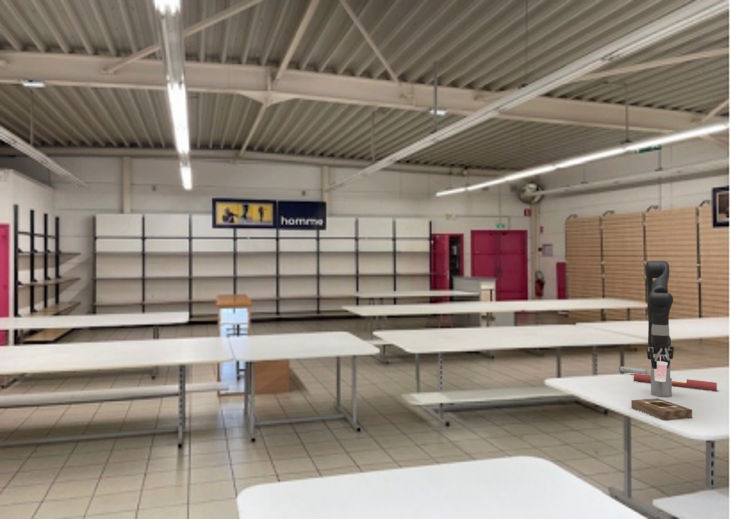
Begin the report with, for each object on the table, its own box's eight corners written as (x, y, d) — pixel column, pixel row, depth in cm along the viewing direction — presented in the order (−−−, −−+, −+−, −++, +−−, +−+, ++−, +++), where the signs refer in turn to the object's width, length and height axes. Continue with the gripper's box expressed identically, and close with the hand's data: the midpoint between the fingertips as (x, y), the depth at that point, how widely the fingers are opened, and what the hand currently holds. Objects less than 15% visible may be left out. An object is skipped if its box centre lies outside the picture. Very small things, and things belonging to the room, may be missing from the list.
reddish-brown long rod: (716, 390, 292) (716, 381, 292) (716, 392, 288) (716, 383, 288) (634, 380, 315) (634, 372, 315) (633, 382, 311) (633, 374, 311)
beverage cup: (670, 381, 244) (670, 352, 244) (660, 382, 243) (660, 353, 243) (660, 378, 250) (660, 350, 250) (650, 379, 248) (650, 351, 249)
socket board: (657, 406, 258) (657, 397, 258) (692, 418, 238) (692, 409, 238) (631, 408, 254) (631, 399, 254) (663, 420, 234) (663, 411, 235)
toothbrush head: (623, 365, 341) (657, 367, 318) (624, 375, 340) (658, 378, 317) (617, 366, 339) (651, 368, 316) (619, 376, 338) (652, 379, 315)
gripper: (666, 332, 252) (666, 366, 252) (641, 333, 248) (641, 367, 248) (679, 334, 245) (678, 369, 244) (654, 335, 241) (653, 370, 241)
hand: (660, 368), depth 246 cm, fingers closed on beverage cup, 6 cm apart
